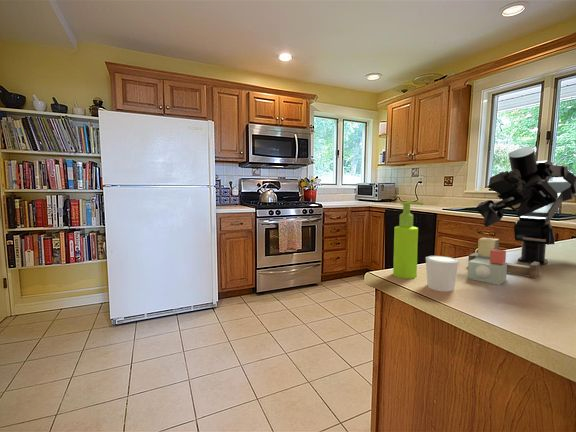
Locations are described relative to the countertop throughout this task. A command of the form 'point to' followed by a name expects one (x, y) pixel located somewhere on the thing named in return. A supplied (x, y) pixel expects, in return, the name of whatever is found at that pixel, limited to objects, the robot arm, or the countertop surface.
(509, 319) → the countertop surface
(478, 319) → the countertop surface
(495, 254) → the red cube
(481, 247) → the carriage
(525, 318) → the countertop surface
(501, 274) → the cabinet
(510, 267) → the brown i-shaped bar
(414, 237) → the soap dispenser
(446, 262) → the white cup
